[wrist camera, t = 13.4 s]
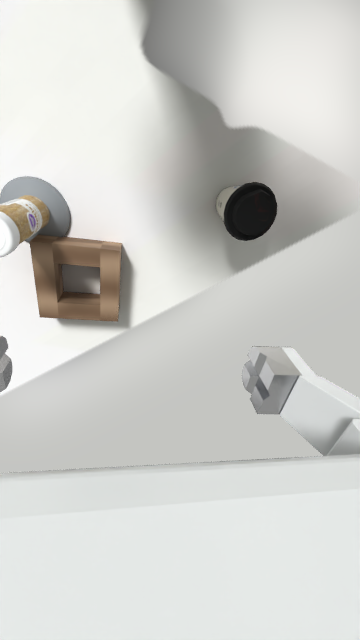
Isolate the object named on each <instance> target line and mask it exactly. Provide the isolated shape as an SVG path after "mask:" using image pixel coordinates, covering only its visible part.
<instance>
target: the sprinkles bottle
mask: <svg viewBox="0 0 360 640" xmlns="http://www.w3.org/2000/svg"><path fill="white" fill-rule="evenodd" d="M49 217H50V216H49V210H48V208H47V206H46V205H45V204H44V203H43V202H42V201H41V200H40V199H39V198H37V197H34V196H31V195H24V196H22V197H20V198H18V199H14V200H11V201H8V202H6V203H3V204H0V257H4V256H6V255H8V254H9V253H11V252H12V251H14V250H15V249H16V248H17V246H18V245H19V244H20V243H22V242H23V241H24V240H26V239H28V238H30V237H31V236H32V235H34V234H35V233H36V232H38V231H39V230H40V229H41V228H44V227H45V226H46V225H47V224H48V222H49Z"/></svg>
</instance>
